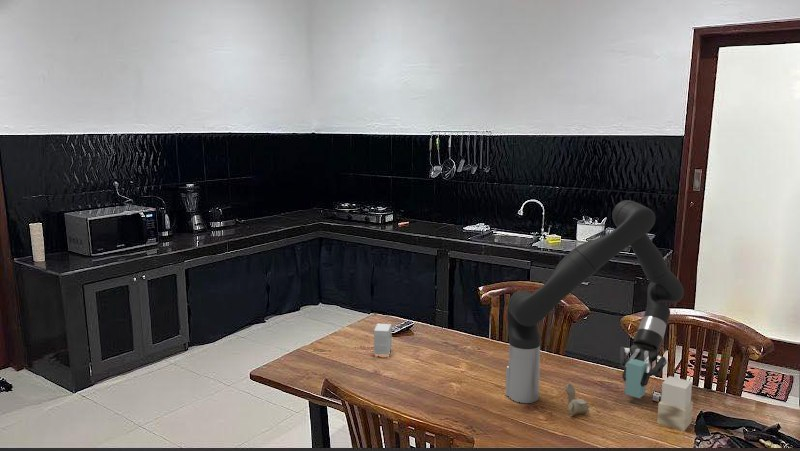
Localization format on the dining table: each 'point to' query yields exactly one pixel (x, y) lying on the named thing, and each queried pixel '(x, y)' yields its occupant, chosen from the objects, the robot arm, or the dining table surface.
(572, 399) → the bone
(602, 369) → the dining table surface
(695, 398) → the dining table surface
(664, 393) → the cream block
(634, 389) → the teal block
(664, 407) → the beech block
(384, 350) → the small box
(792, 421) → the dining table surface
